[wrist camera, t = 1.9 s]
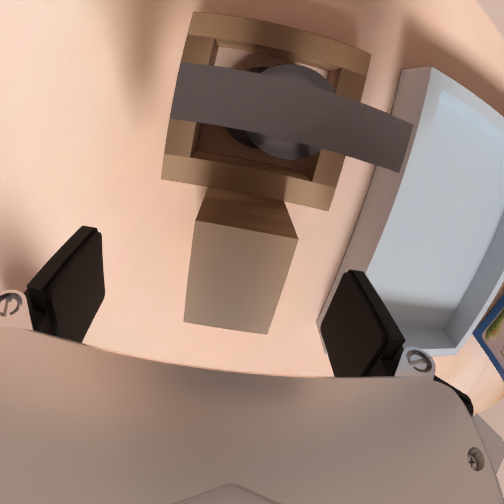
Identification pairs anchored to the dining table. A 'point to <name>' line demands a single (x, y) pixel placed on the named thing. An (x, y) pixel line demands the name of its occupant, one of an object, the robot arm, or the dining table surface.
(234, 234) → the ring
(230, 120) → the gray bar-topped pedestal
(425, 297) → the tray
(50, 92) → the dining table surface
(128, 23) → the dining table surface
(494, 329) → the milk carton
